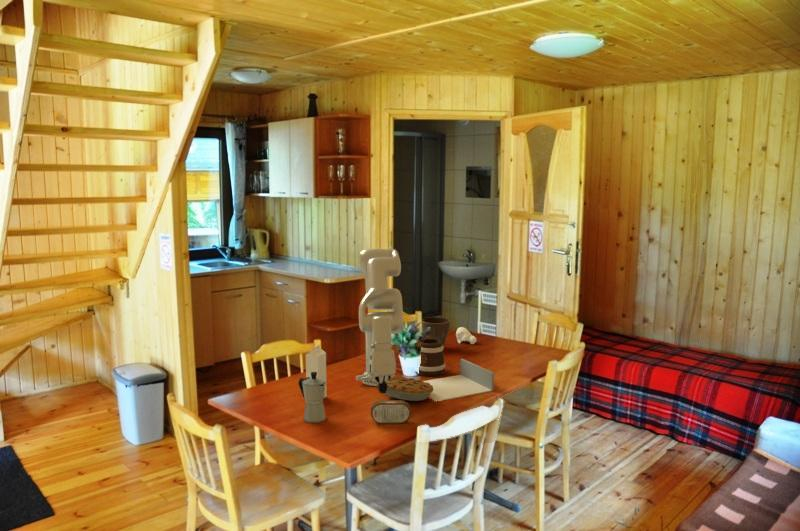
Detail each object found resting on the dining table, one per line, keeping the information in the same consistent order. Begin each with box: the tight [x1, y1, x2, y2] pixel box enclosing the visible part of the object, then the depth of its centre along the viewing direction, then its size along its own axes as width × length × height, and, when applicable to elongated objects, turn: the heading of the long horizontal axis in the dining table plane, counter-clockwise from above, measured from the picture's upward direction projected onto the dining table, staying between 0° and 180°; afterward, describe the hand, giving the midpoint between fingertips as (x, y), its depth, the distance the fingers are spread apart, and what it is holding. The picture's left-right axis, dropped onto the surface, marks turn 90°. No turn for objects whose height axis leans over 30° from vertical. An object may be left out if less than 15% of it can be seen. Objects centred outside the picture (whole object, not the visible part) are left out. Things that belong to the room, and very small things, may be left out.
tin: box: [370, 399, 412, 425], centre depth 227 cm, size 15×3×8 cm, turn 92°
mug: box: [419, 338, 447, 377], centre depth 290 cm, size 20×15×15 cm
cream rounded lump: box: [455, 326, 477, 345], centre depth 341 cm, size 6×8×12 cm
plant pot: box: [421, 316, 451, 346], centre depth 328 cm, size 15×15×16 cm
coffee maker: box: [298, 372, 327, 424], centre depth 231 cm, size 15×9×18 cm, turn 48°
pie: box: [384, 376, 433, 402], centre depth 253 cm, size 22×22×5 cm
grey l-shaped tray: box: [422, 358, 495, 403], centre depth 266 cm, size 29×24×9 cm
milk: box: [305, 344, 327, 399], centre depth 252 cm, size 6×6×22 cm
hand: (382, 392), depth 245 cm, fingers closed
